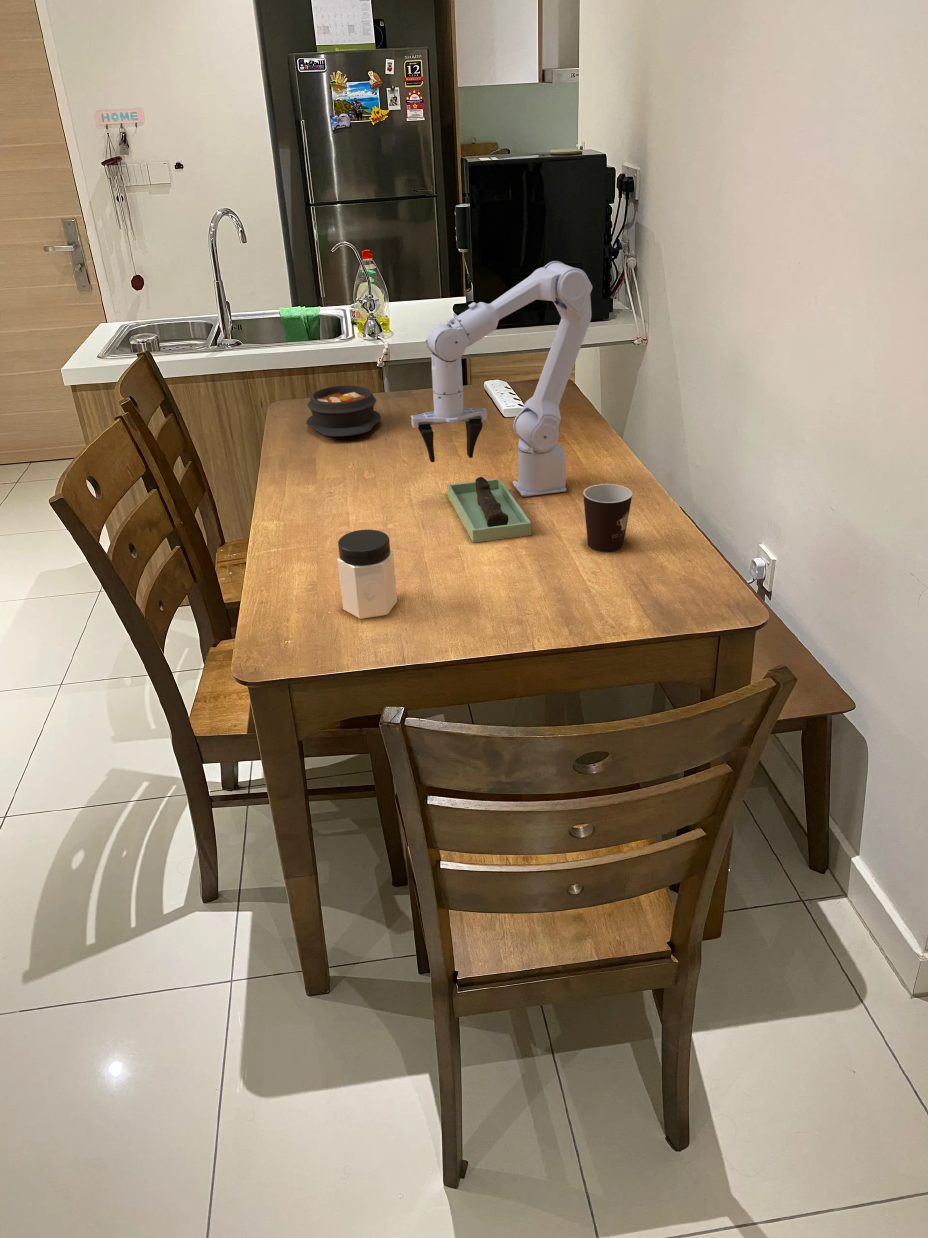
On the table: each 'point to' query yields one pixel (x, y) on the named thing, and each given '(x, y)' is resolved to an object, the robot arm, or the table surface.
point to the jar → (366, 573)
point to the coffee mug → (606, 516)
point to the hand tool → (489, 504)
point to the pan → (474, 517)
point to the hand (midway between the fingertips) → (451, 458)
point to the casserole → (342, 411)
